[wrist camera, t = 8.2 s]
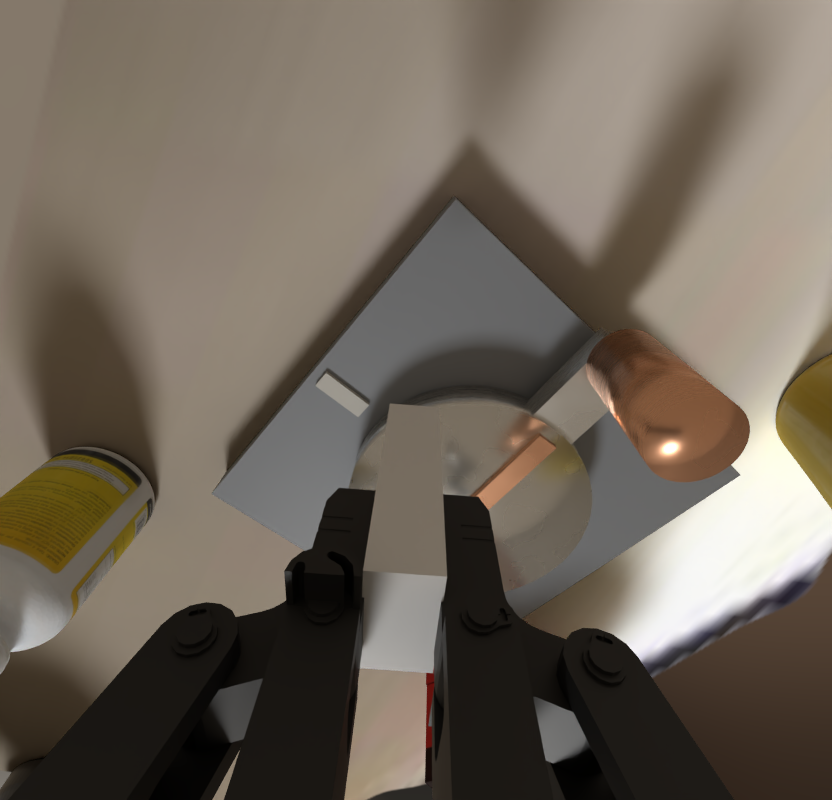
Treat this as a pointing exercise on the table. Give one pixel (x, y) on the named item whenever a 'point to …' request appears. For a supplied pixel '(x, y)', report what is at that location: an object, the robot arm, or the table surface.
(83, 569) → the pill bottle
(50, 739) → the table surface
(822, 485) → the plant pot
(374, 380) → the base plate
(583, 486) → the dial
